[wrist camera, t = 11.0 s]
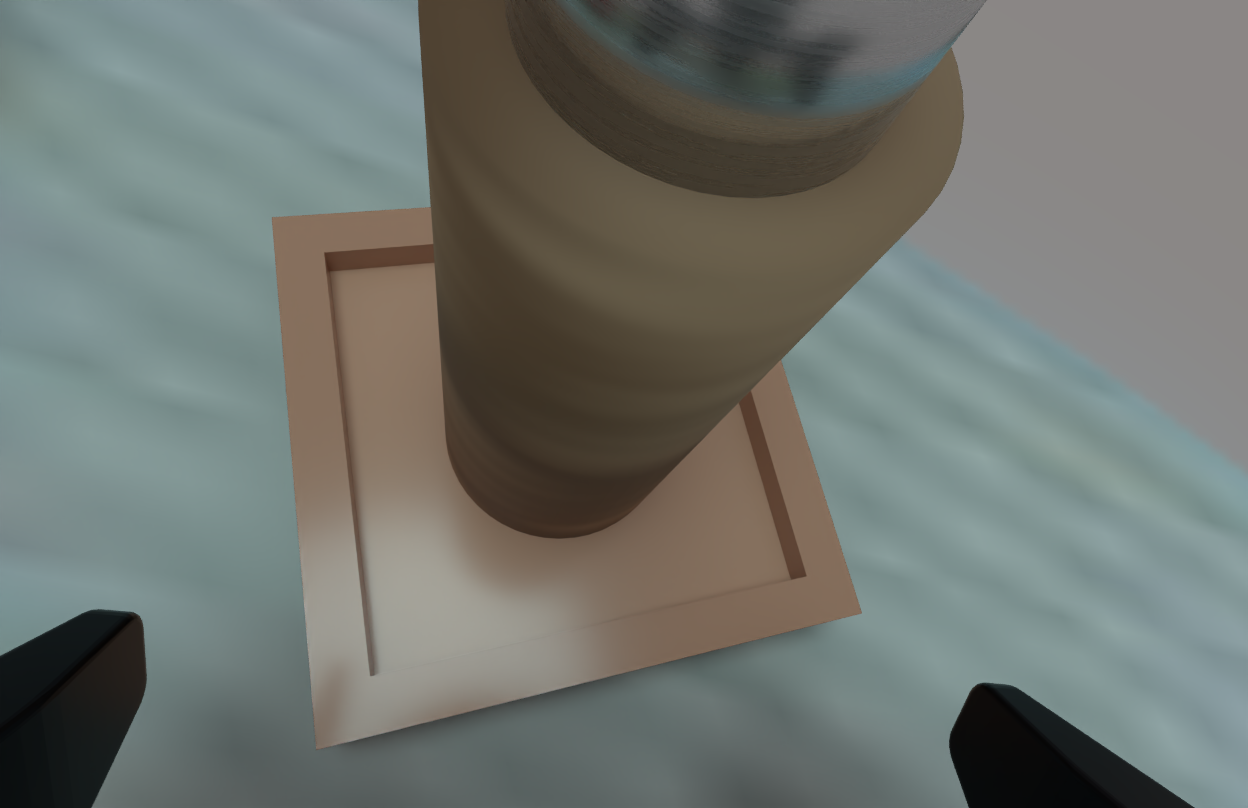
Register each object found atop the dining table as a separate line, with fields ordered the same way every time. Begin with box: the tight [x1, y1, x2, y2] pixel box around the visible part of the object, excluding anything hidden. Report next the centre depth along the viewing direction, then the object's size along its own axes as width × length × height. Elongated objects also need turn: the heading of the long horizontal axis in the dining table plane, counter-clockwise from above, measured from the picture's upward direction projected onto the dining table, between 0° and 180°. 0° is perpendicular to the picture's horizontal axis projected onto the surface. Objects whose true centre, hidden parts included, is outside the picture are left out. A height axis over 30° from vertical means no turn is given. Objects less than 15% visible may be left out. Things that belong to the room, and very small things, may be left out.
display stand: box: [272, 207, 862, 750], centre depth 17 cm, size 11×11×2 cm
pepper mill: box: [418, 0, 986, 539], centre depth 11 cm, size 5×5×13 cm
